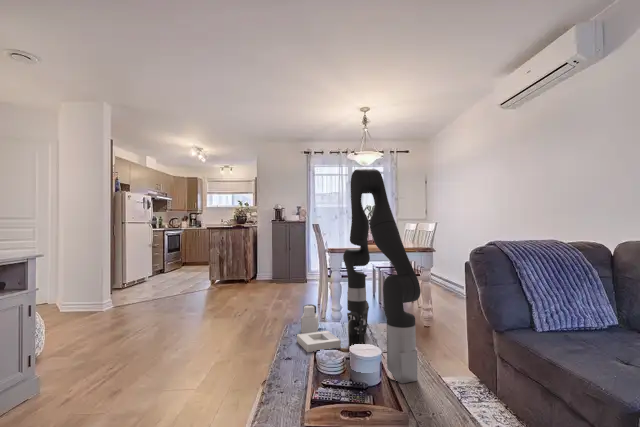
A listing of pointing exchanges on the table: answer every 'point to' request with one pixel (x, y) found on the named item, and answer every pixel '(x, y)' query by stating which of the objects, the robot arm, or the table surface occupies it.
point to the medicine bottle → (309, 319)
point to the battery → (353, 333)
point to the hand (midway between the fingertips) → (357, 341)
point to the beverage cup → (366, 312)
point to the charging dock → (318, 341)
